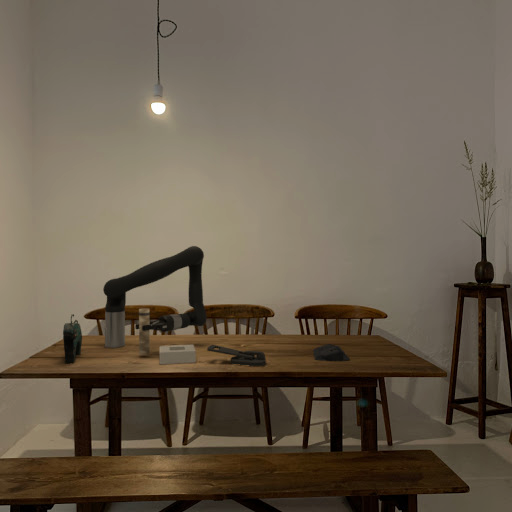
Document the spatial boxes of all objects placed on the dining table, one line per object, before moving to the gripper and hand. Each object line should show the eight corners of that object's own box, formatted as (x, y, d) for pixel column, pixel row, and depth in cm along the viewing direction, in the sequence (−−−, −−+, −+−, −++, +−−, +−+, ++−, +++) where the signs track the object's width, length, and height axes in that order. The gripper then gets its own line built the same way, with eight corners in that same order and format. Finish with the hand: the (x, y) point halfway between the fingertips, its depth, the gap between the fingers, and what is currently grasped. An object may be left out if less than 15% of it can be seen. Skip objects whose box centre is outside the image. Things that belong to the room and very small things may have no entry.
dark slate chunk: (343, 351, 226) (343, 341, 226) (350, 362, 204) (350, 351, 204) (311, 350, 227) (311, 340, 227) (314, 362, 205) (314, 351, 205)
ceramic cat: (75, 364, 198) (75, 317, 197) (59, 365, 197) (58, 317, 196) (84, 353, 218) (84, 310, 217) (69, 354, 216) (69, 310, 216)
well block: (159, 364, 198) (159, 352, 198) (159, 357, 211) (159, 345, 211) (195, 362, 201) (195, 351, 201) (193, 355, 214) (193, 344, 214)
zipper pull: (211, 344, 208) (267, 346, 203) (211, 358, 208) (267, 362, 203) (205, 348, 199) (263, 351, 194) (205, 364, 199) (263, 367, 194)
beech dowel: (138, 354, 209) (138, 309, 208) (139, 352, 213) (139, 308, 213) (149, 354, 210) (149, 309, 209) (149, 352, 214) (149, 308, 213)
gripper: (160, 313, 226) (129, 317, 214) (179, 316, 217) (148, 321, 204) (160, 328, 227) (129, 333, 214) (179, 332, 217) (148, 338, 204)
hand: (139, 327), depth 209 cm, fingers closed on beech dowel, 4 cm apart
